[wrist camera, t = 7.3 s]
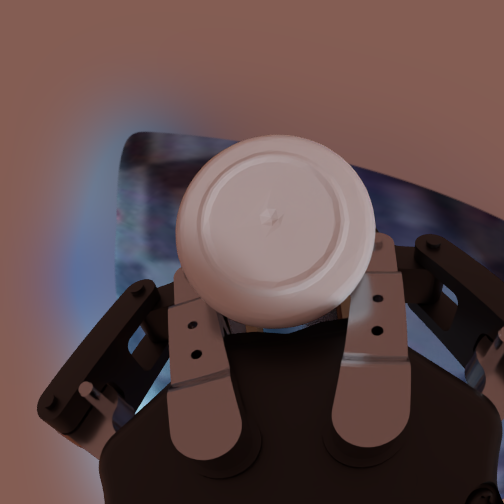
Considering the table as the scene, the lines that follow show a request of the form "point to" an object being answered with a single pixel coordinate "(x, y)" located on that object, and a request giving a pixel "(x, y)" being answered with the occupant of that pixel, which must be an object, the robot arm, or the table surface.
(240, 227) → the sprinkles bottle
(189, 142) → the table surface
